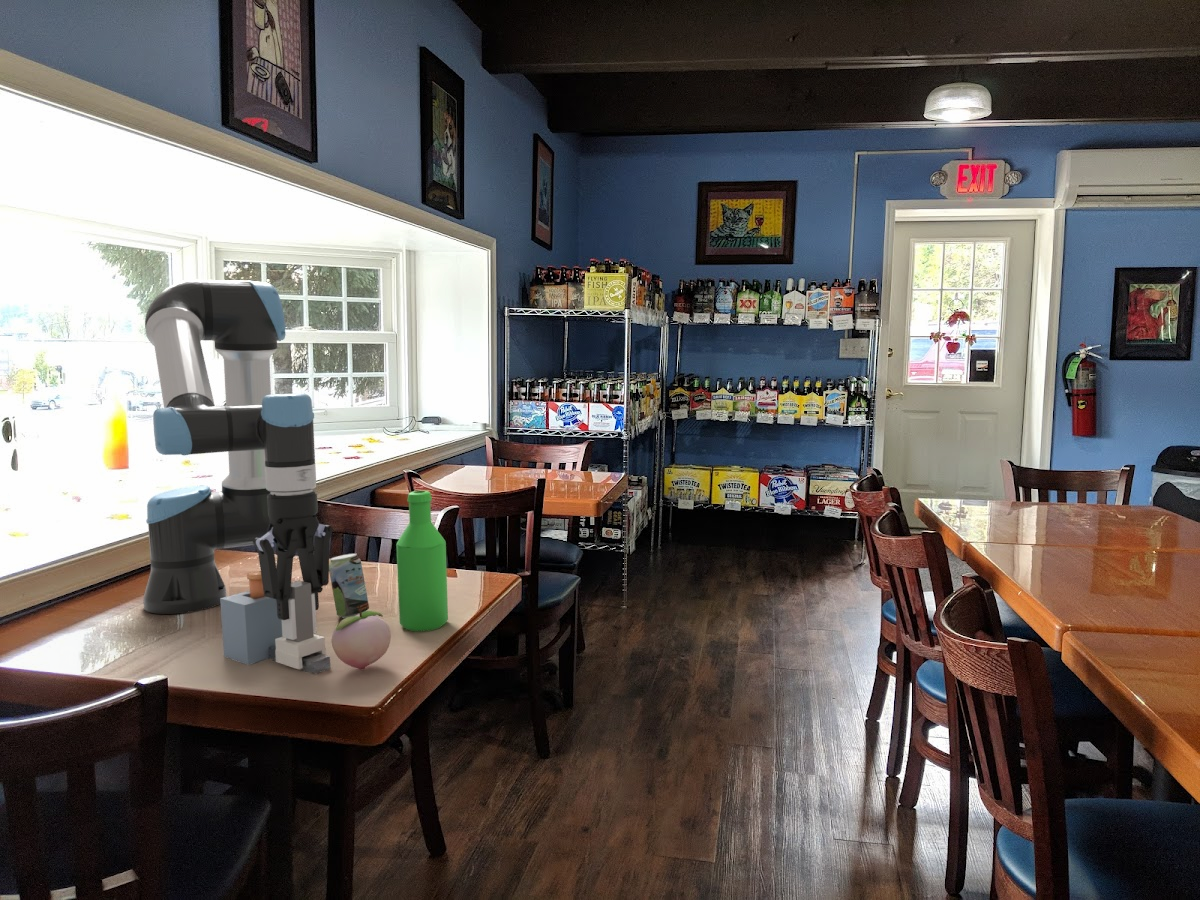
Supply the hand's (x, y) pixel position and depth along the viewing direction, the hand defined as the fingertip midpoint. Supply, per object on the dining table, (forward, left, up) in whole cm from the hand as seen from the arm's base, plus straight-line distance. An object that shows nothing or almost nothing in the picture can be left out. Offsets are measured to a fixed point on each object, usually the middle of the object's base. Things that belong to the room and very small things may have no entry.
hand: (299, 634), depth 138 cm
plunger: (-11, 0, +4) cm, 11 cm away
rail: (-1, 0, -5) cm, 5 cm away
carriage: (0, 0, -5) cm, 5 cm away
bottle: (+2, +25, -5) cm, 26 cm away
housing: (-11, 0, -5) cm, 12 cm away
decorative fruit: (+11, +4, -5) cm, 13 cm away
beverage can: (-14, +21, -5) cm, 26 cm away
